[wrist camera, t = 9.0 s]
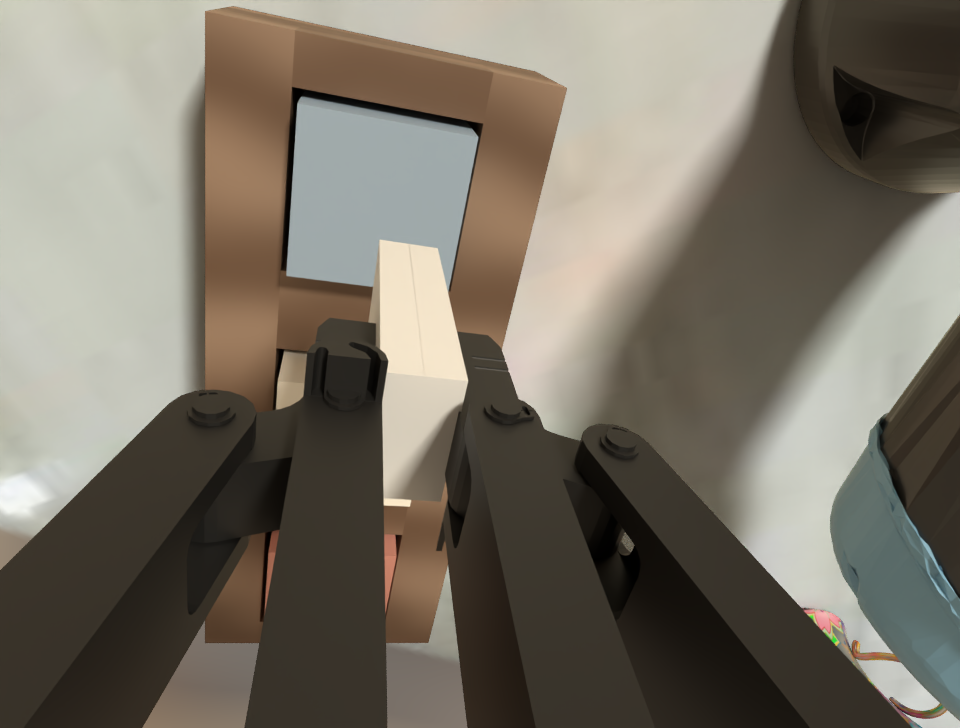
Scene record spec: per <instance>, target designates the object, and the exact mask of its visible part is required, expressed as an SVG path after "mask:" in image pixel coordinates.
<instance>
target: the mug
mask: <svg viewBox="0 0 960 728" xmlns="http://www.w3.org/2000/svg"><path fill="white" fill-rule="evenodd" d="M804 612H805V613H806V614H807V615H808V616H809V617H810V618H811V619H812V620H813V621H814V622H815V623H816V624H817V626H818V627H819V628H820V629H821V630H822V631H823V632H824V633H825V634H826V635H827V636H828V637H829V638H830V640H831V641H832V642H833V643H834V644H835V645H836V646H837V647H838V648H839V649H840V650H841V651H842V652H843V654H844V655H845V656H846V657H847V658H848V659H849V660H850V661H851V662H852V663H853V664H854V665H855V666H856V668H857V669H858V670H859V671H860V672H861V673H862V674H863V675H864V676H865V677H866V678H867V679H868V681H869V682H870V683H871V684H872V685H873V686H874V687H875V688H876V686H875V685H874V684H873V683H872V682H871V681H870V679H869V678H868V677H867V675H866V674H865V673H864V671H863V670H862V668H861V667H860V665H859V664H858V662H857V660H856V659H858V660H889V661H896V662H900V661H899V659H898V658H897V657H896V656H895V655H894V654H891V653H879V652H873V653H860V652H859V649H860V643H859V642H858V641H856V640H854V641H853V642H852V650H851V648H850V646H849V643H848V639H847V635H846V629H845V626H844V624H843V622H842V621H841V619H840V618H838V617H837V616H836V615H834V614H832V613H830V612H827V611H824V610H817V609H808V610H804ZM876 689H877V688H876ZM877 690H878V689H877ZM878 691H879V690H878ZM879 692H880V691H879ZM880 693H881V692H880ZM881 695H882V696H883V697H884V698H885V699H886V700H887V701H888V702H889V703H890V704H891V705H892V706H893V707H894V709H895V710H896V711H897V712H898V713H899V714H900V715H901V716H902V717H903V718H904V719H905V720H906V721H907V723H908V724H909V725H910V726H911V727H912V728H922V727H921V726H919V725H918V724H916V723H915V722H914V721H912V720H911V719H910V718H908V717H907V716H906V715H905V714H907V715H910V716H912V717H916V718H922V719H930V718H936V717H938V716H941V715H942V714H944V713H945V712H946V711H947V709H946V708H945V707H944V706H943V705H942V704H941V703H940V704H939V705H938V706H937V707H935V708H934V709H931V710H927V711H917V710H913V709H910V708H907V707H905V706H904V705H902V704H901V703H899V702H898V701H897V700H895V699H894V698H893V697H890V698H889V699H890V701H891V702H892V703H893V704H894V705H895V706H896V707H895V706H894V705H893V704H892V703H891V702H890V701H889V700H888V699H887V698H886V697H885V696H884V695H883V694H882V693H881ZM901 711H902V712H904V713H905V714H904V713H902V712H901Z"/></svg>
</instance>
